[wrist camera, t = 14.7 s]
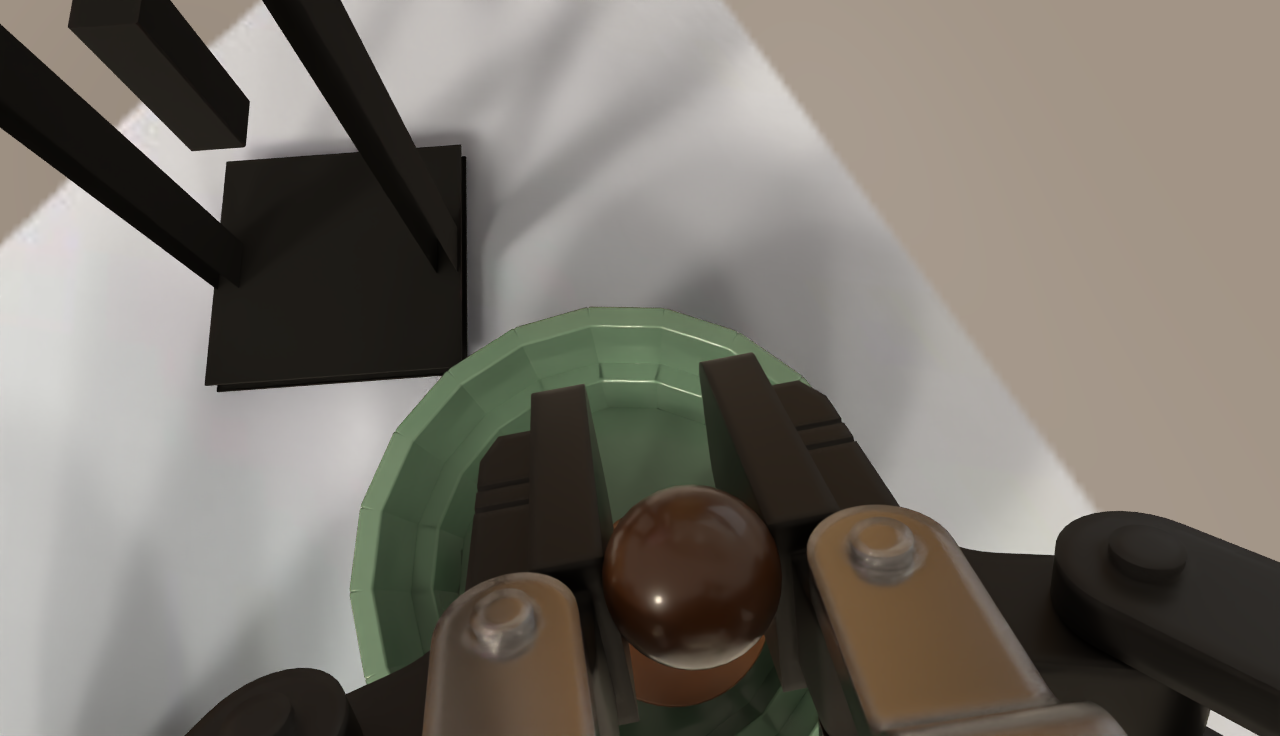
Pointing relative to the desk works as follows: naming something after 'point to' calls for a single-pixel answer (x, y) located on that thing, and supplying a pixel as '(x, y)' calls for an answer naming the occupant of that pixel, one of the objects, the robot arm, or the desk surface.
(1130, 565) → the robot arm
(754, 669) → the bowl
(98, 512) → the desk surface
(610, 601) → the brown wooden pestle
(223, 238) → the handbag
